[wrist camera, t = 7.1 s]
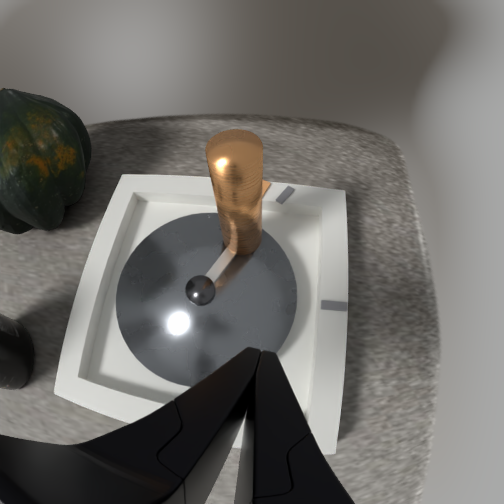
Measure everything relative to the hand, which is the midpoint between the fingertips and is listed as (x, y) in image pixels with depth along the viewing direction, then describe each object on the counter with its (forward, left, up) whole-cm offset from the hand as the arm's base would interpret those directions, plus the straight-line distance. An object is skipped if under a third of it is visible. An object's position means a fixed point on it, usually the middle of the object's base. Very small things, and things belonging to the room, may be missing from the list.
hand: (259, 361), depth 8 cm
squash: (+14, +26, -13) cm, 32 cm away
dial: (+5, +5, -11) cm, 13 cm away
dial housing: (+5, +5, -13) cm, 14 cm away
